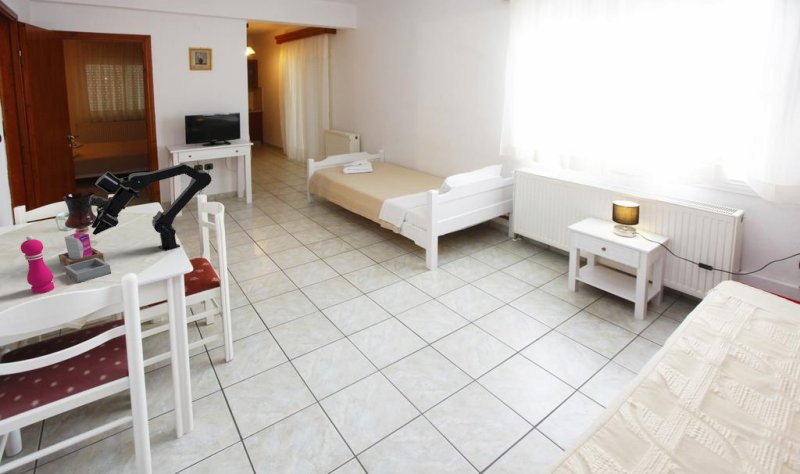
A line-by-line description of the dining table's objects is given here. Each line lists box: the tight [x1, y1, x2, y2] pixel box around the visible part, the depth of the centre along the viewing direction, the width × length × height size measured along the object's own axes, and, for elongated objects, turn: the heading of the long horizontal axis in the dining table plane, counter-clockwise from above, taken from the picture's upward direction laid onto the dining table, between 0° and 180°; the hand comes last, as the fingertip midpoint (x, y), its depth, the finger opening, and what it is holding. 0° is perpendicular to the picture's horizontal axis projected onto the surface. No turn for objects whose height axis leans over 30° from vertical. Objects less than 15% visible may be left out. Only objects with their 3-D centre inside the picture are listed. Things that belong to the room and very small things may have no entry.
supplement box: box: [64, 232, 93, 260], centre depth 180 cm, size 6×6×12 cm
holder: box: [57, 246, 105, 267], centre depth 182 cm, size 11×11×4 cm
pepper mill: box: [20, 235, 55, 295], centre depth 156 cm, size 7×7×20 cm
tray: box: [63, 258, 112, 284], centre depth 172 cm, size 11×11×4 cm
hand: (92, 230), depth 181 cm, fingers open, 9 cm apart
